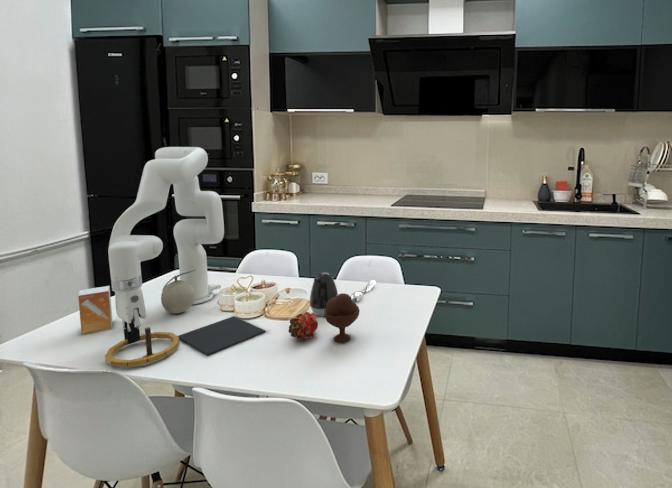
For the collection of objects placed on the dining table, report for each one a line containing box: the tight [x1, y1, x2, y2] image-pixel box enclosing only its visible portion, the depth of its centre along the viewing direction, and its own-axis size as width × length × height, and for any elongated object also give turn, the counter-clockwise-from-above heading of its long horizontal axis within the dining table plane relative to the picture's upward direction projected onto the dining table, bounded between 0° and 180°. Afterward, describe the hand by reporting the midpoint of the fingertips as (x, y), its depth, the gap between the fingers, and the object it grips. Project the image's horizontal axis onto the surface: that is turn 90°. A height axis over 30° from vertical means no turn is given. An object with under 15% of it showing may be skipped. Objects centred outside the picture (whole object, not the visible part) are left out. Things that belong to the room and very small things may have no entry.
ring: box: [104, 331, 180, 368], centre depth 127 cm, size 18×18×1 cm
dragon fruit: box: [287, 311, 319, 341], centre depth 137 cm, size 8×8×12 cm
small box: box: [77, 285, 113, 335], centre depth 143 cm, size 8×6×13 cm
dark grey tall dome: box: [309, 271, 339, 317], centre depth 154 cm, size 10×10×15 cm
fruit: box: [160, 270, 196, 315], centre depth 155 cm, size 10×12×15 cm
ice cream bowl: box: [324, 293, 360, 344], centre depth 134 cm, size 11×11×15 cm
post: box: [141, 326, 154, 358], centre depth 123 cm, size 4×4×9 cm
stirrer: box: [350, 280, 377, 303], centre depth 175 cm, size 20×4×5 cm
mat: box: [177, 315, 267, 356], centre depth 138 cm, size 19×19×1 cm
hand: (132, 340), depth 132 cm, fingers closed on ring, 1 cm apart
